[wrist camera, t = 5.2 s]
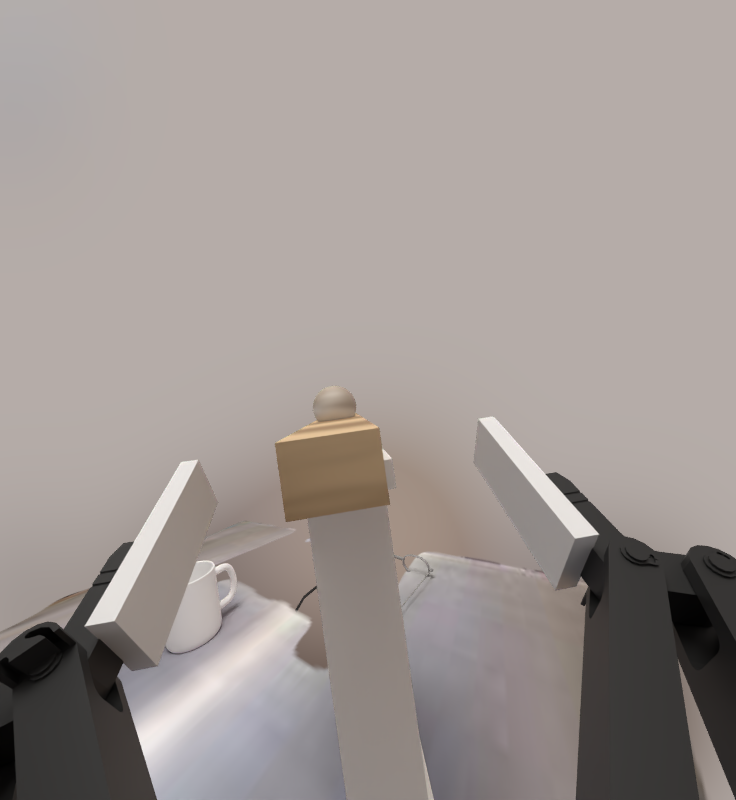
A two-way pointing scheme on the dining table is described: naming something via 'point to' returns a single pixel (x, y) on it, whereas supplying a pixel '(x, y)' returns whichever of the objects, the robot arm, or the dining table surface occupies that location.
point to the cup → (200, 608)
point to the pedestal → (368, 654)
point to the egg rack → (332, 461)
